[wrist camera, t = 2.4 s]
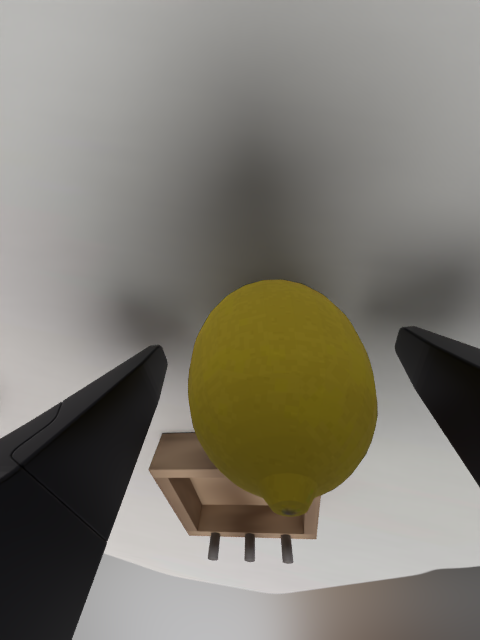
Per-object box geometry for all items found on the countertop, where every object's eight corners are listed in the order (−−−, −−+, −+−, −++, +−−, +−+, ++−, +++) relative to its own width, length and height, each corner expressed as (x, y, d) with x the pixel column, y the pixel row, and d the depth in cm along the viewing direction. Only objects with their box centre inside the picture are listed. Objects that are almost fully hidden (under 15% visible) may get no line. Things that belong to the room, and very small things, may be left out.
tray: (313, 429, 15) (330, 499, 12) (309, 502, 21) (320, 565, 17) (162, 433, 17) (138, 497, 13) (195, 501, 22) (184, 559, 19)
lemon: (190, 293, 11) (74, 475, 4) (296, 229, 9) (426, 351, 2) (249, 368, 13) (241, 571, 6) (343, 328, 11) (482, 547, 4)
